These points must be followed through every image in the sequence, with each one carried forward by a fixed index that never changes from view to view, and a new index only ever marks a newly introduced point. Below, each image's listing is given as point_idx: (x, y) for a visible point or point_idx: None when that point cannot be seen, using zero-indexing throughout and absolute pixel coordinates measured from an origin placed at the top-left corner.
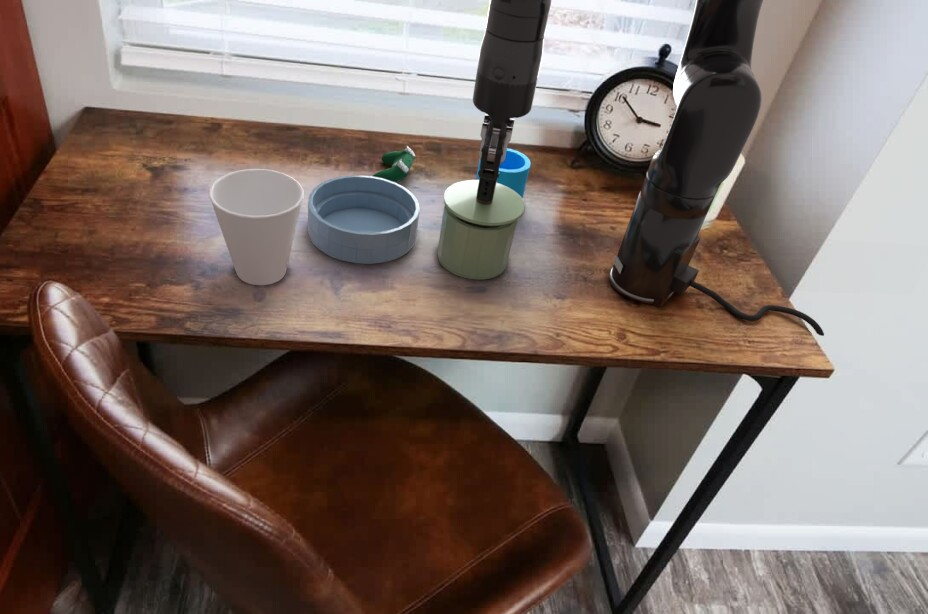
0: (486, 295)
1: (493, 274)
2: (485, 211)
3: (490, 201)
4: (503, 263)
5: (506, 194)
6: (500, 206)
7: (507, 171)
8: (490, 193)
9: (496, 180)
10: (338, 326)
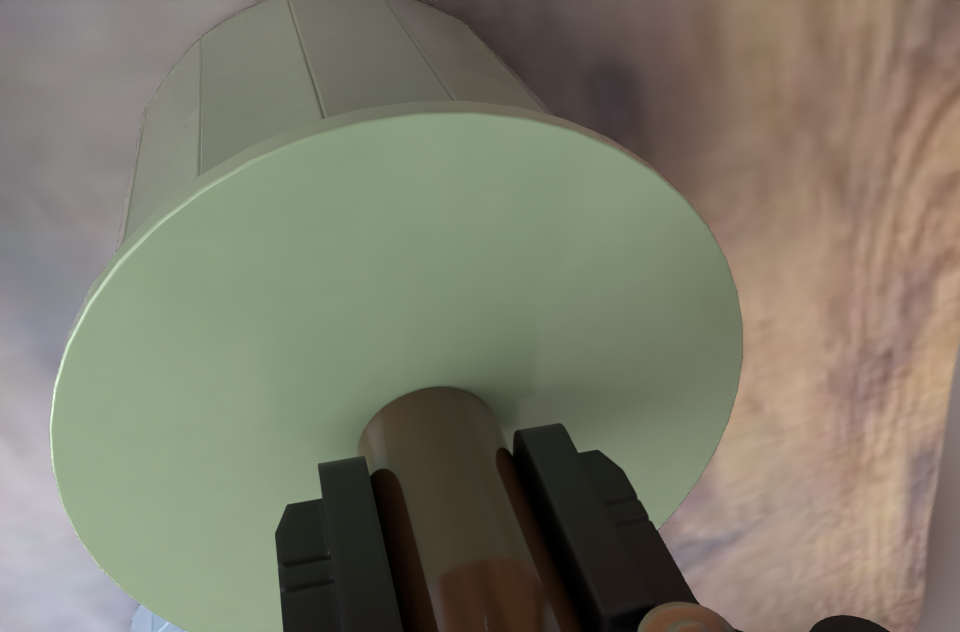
0: (652, 53)
1: (498, 56)
2: (598, 393)
3: (558, 424)
4: (454, 27)
5: (238, 321)
6: (482, 317)
7: None
8: (628, 496)
9: (868, 621)
10: (886, 473)
